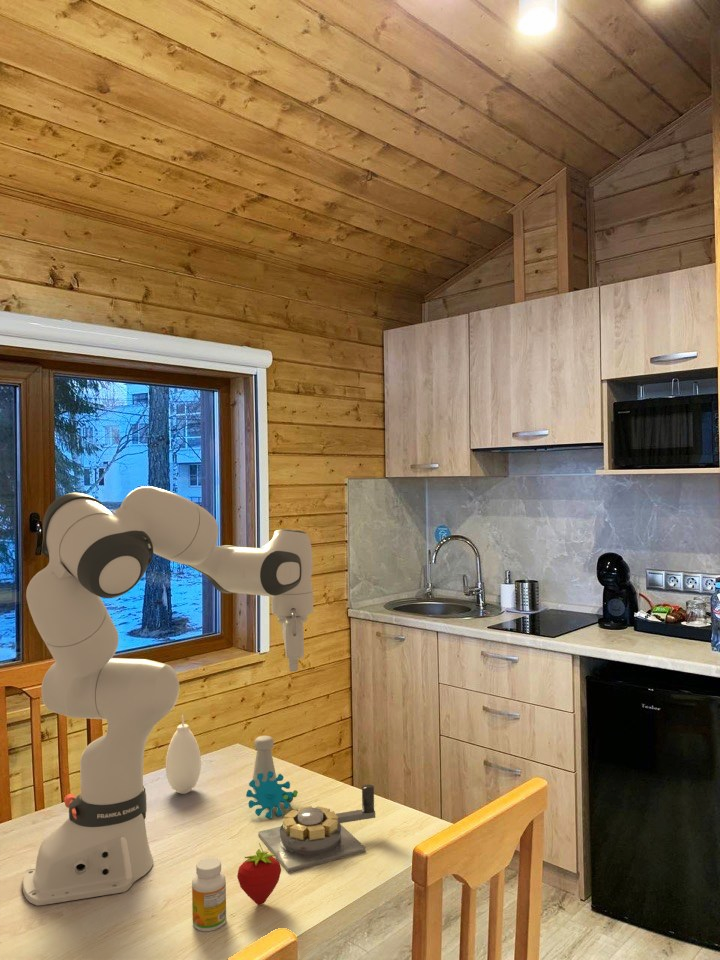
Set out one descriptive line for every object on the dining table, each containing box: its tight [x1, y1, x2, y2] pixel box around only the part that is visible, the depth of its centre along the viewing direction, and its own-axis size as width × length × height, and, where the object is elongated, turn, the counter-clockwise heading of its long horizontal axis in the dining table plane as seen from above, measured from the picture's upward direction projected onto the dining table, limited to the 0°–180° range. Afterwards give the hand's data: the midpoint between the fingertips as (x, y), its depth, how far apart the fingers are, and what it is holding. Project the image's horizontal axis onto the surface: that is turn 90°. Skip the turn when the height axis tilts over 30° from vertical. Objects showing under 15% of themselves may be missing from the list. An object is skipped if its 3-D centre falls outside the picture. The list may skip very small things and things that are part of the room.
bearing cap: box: [257, 807, 367, 873], centre depth 149 cm, size 16×16×6 cm
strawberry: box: [236, 842, 282, 906], centre depth 128 cm, size 6×8×10 cm
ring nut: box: [282, 784, 376, 841], centre depth 150 cm, size 10×18×6 cm, turn 108°
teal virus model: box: [245, 771, 299, 820], centre depth 164 cm, size 11×6×10 cm
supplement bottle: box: [191, 856, 227, 932], centre depth 123 cm, size 5×5×10 cm
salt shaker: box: [251, 735, 279, 794], centre depth 172 cm, size 6×6×13 cm
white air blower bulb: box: [165, 714, 202, 795], centre depth 173 cm, size 8×8×18 cm
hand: (293, 669), depth 161 cm, fingers closed
